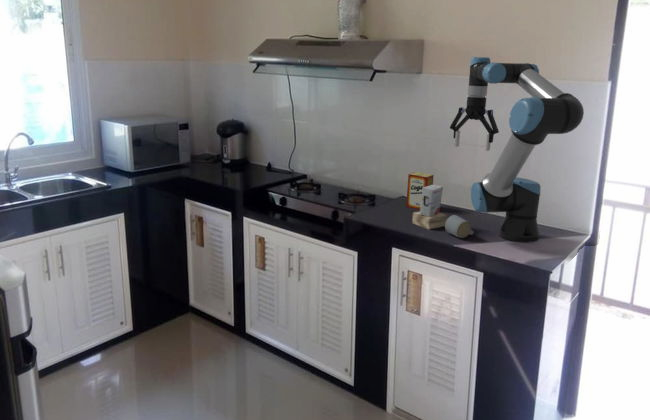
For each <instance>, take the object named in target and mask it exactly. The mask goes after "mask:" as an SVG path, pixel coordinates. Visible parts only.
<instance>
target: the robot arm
mask: <svg viewBox="0 0 650 420" xmlns="http://www.w3.org/2000/svg"><path fill="white" fill-rule="evenodd" d="M468 77H469V79H468V88H467V89H468V90H467V95H468V96H467V97H466V98H467V99H466V107H463V106H461V107H459V108H458V111H457V114H456V115H455V117H454V119H453V120H452V122H451V124H450V126H449V129H450V130H452V131H453V139H454V148H457V147H459V146H460V137H461V131H460V129H461V128H462V127H463V126H464V125H465V124H466V123H467V122H468V121H469V120H475V121H480V122H481V124H482V125H483V126H484V128H485V130H486V132H487V134H486V143H485V152H489V151H490V150H491V143H493V142H494V135H495V134H499V131H500V130H499V129H498V125H497V122H496V119H495V117H494V109H486V106H487V95H488V88H489V87H488V86H489V84H496V85H497V84H517V85H518V86H520V87H521V88H522V89H523V90H524V91H525V92H526V93H528V94H529V95H530V96H531V97H524V98H520V99H519V100H518V101H516V102H515V103H514V105H513V106H512V108H511V110H510V113H509V115H510V117H509V118H508V119H509V120H508V124H509V128H510V132H511V135H510V138H509V139H508V141H507V143H506V145H505V146H504V148H503V150H502V152H501V154H500V155H499V157H498V159H497V161H496V163H495V165H494V166H493V169H492V170H491V172H490V173H487V174H486V175H484V177H483V178H482V180H481V182H479V181H476V182H474V183H473V184H472V185H471V188H470V200H471V204H472V207H473V209H474V210H475V211H476V212H478V213H485V214H487V213H503V212H504V213H505V215H504V216H505V217H504V218H503V220H502V223H501V225H500V227H499V229H498V235H499V237H501V238H503V239H506V240H508V241H512V242H519V243H532V242H533V243H535V242H537V241H539V238H540V230H539V226H538V220H537V217H538V212H539V211H538V210H539V205H540V204H539V203H540V198H541V197H540V196H541V184H540V183H539V182H537V181H535V180H531V179H528V178H522V177H517V176H518V175H519V173H520V171H521V170H522V168H523V166H524V165H525V164H526V162H527V160H528V159H529V157H530V155H531V154H532V152H533V151H534V148H535V147H536V146H540V145H541V144H542V143H543V142H544V141H545V139H546V137H547V136H548V135H564V134H568V133H570V132H572V131H574V130H576V129H577V128H578V127H579V126H580V124H581V123H582V121H583V119H584V106H583V104H582V103H581V101H580V100H579V99H578V98H577V97H575V96H574V95H573V94H572V93H569V92H563V91H562V90H561V89H559V88H558V87H557V86H556V85H554V84H553V83H552V82H550V81H549V80H547V78H545V77H544V76H543V75H541V74H540V69H539V67H538V65H536V64H535V63H529V62H527V63H522V62H521V63H515V62H514V63H513V62H512V63H511V62H491V58H490V57H487V56H486V57H484V56H483V57H481V56H479V57H478V56H473V57H472V58H471V60H470V64H469V76H468ZM464 113H466V115H465V116H464V117H463V118H462V115H463V114H464ZM485 115H486V116H487V118H488V120H489V122H488V121H487V118H486V117H485ZM461 118H462V119H461ZM460 119H461V120H460ZM489 123H490V124H489Z"/></svg>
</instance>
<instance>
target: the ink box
mask: <svg viewBox="0 0 650 420" xmlns="http://www.w3.org/2000/svg"><path fill="white" fill-rule="evenodd" d="M443 190H444V187H443V185H438V184H434V183H433V185H430V186H426V187H423V193H422V201H421V208H420V209H419V211H420V214H421V215H424V216H427V217H431V216H433V215H435V214H437V213H440V211H441V203H442V197H443Z"/></svg>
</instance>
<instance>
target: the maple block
mask: <svg viewBox="0 0 650 420" xmlns="http://www.w3.org/2000/svg"><path fill="white" fill-rule="evenodd" d="M447 219H448V215H447V214H444V213H441V212H439V213H437V214H435V215H433V216H431V217H427V216H424V215H421V214H420V210H419V211H414V212H412V220H411V221H412V222H411V224H414V225H416V226H418V227H421V228H424V229H426V230H432V229H438V228H442V227H445V223H446V221H447Z"/></svg>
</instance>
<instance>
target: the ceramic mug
mask: <svg viewBox="0 0 650 420" xmlns="http://www.w3.org/2000/svg"><path fill="white" fill-rule="evenodd" d="M444 228H445V232H447V233H448V234H450V235H453V236H454V237H457V238H459V239H464V238H467V237H469V236H474V233H475V231H474V230H472V225H471V223H470V222H469V221H468V220H466V219H464V218H462V217H461V216H458V215H456V214H452V215H450V216H449V217H447V221H446V223H445V226H444Z"/></svg>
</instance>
